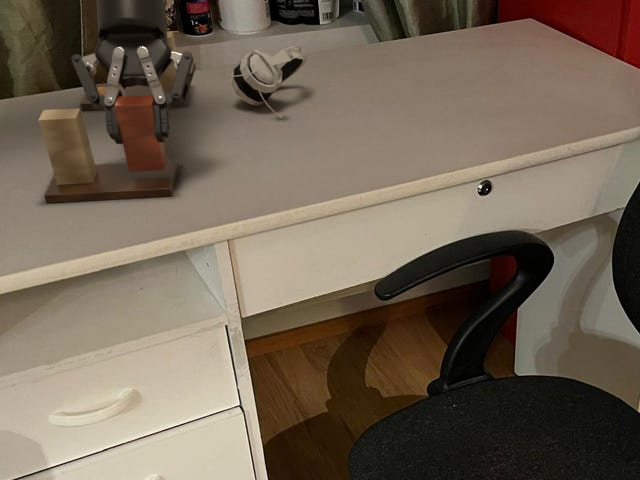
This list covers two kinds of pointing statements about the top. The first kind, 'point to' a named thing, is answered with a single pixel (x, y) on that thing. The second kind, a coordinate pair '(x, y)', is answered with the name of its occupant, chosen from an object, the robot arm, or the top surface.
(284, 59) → the headphones
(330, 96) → the top surface
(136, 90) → the upright block on base
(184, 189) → the top surface
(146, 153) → the tall red-orange pillar
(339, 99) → the top surface
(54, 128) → the cream block stand
